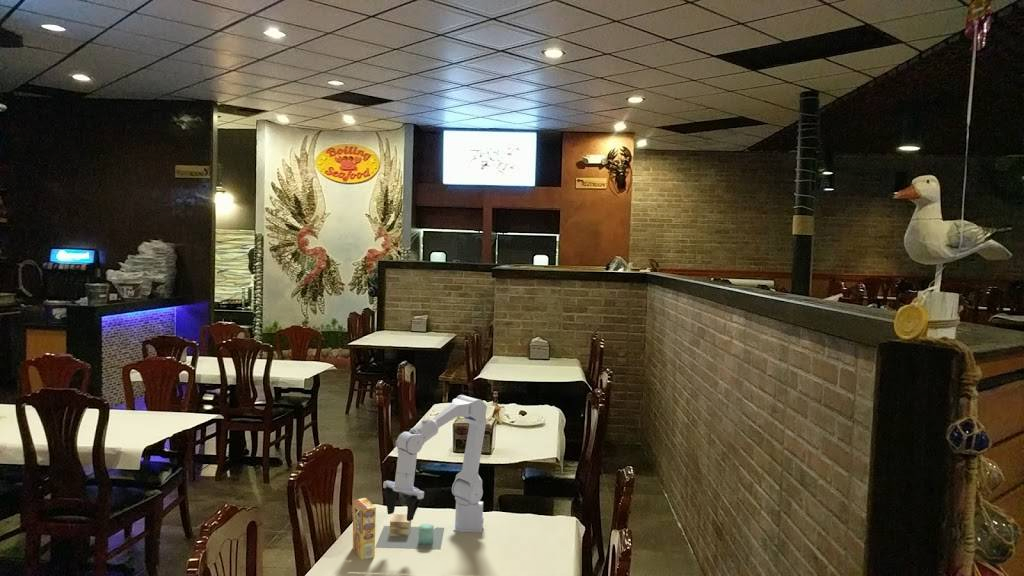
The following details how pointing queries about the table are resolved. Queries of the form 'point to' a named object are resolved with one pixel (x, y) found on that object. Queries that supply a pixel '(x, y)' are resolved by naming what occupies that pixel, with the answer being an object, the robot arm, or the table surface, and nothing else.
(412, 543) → the slate mat
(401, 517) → the oak slab top
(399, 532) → the birch slab low
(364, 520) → the candy box
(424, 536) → the green rounded knob
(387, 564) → the table surface
